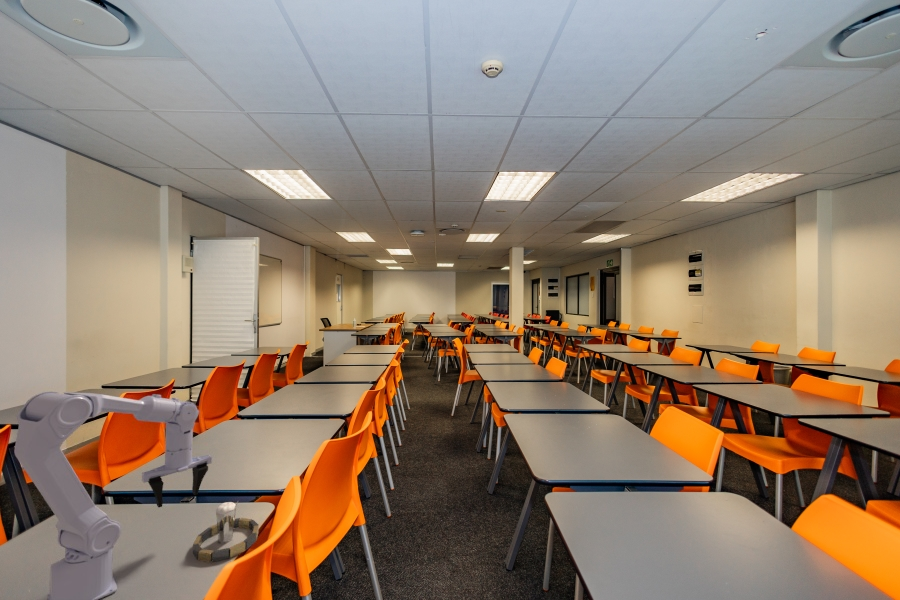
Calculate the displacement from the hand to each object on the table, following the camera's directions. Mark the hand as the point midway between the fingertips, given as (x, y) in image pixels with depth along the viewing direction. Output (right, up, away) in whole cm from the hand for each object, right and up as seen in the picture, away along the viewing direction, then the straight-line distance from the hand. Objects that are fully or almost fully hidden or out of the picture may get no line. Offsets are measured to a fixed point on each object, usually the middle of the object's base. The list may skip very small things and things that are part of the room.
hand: (177, 499), depth 94 cm
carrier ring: (+13, -11, -1) cm, 17 cm away
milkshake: (+13, -11, 0) cm, 17 cm away
